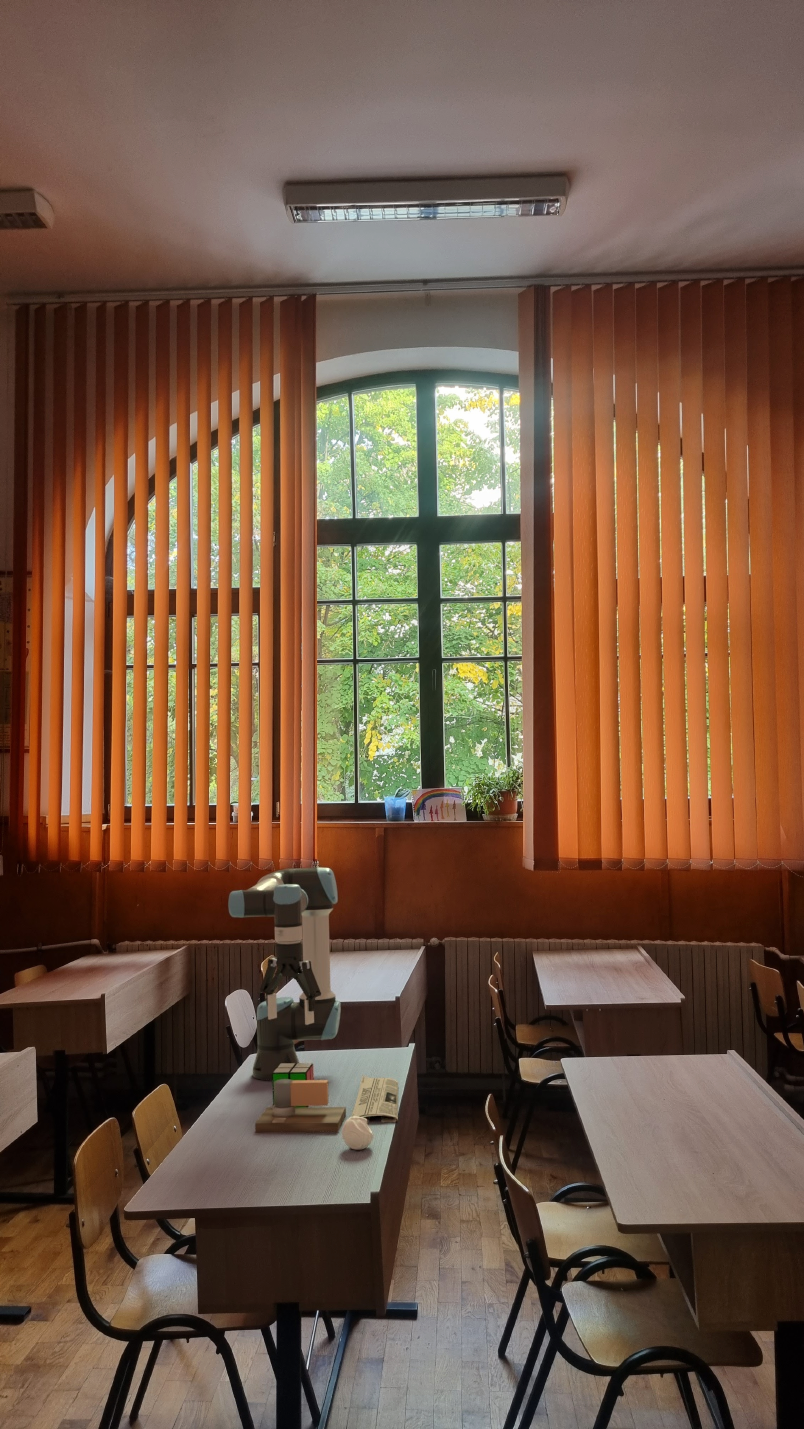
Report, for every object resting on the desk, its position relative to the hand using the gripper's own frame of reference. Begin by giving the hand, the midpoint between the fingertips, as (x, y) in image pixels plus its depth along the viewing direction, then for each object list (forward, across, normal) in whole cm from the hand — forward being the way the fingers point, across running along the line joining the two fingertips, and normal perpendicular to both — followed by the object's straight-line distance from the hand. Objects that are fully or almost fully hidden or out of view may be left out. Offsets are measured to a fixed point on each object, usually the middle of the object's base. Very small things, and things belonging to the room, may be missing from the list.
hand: (290, 1021), depth 263 cm
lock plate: (+27, +3, 0) cm, 27 cm away
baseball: (+27, +28, -7) cm, 39 cm away
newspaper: (+27, +10, +24) cm, 38 cm away
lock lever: (+22, +2, +1) cm, 22 cm away
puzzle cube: (+27, -11, +13) cm, 32 cm away
